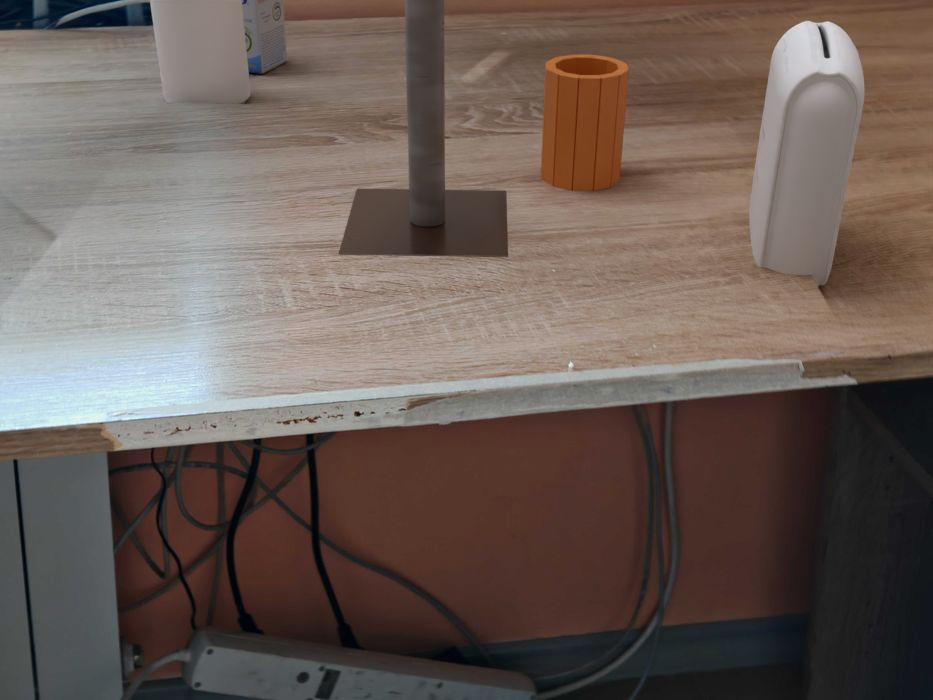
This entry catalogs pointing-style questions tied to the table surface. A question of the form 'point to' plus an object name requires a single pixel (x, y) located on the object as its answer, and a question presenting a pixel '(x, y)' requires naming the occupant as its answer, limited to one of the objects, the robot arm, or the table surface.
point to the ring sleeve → (583, 121)
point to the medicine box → (264, 34)
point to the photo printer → (805, 150)
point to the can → (201, 51)
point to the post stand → (426, 171)
